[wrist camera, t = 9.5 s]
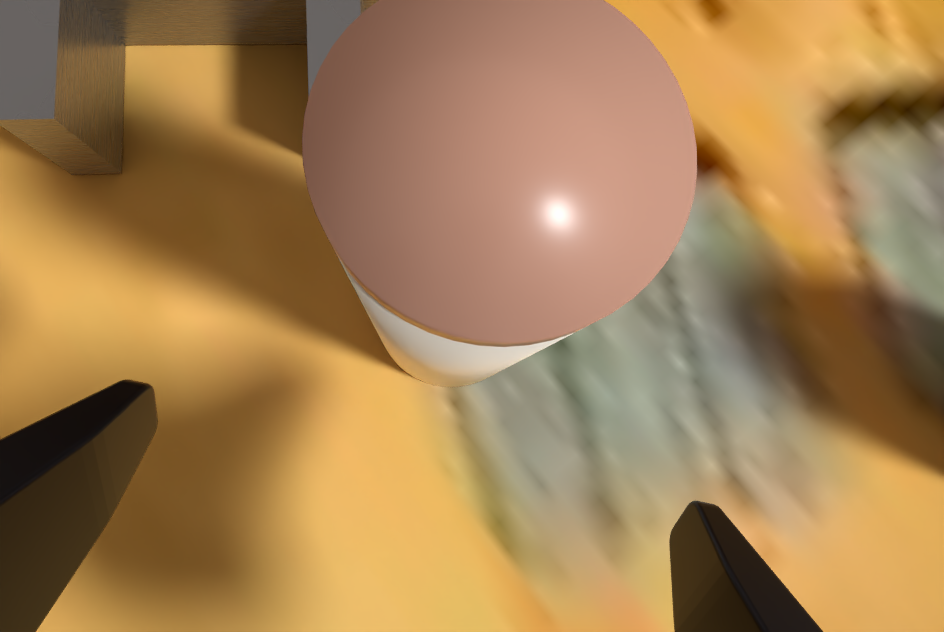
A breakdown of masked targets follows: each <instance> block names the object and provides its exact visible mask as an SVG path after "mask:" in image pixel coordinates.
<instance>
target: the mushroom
mask: <svg viewBox="0 0 944 632" xmlns="http://www.w3.org/2000/svg"><path fill="white" fill-rule="evenodd" d="M302 149H303V166H304V172H305V177H306V183H307V188H308V192H309V195H310V198H311V201H312V204H313V207H314V210H315V213H316V215H317V217H318V219H319V221H320V223H321V225H322V227H323V229H324V231H325V233H326V235H327V237H328V239H329V241H330V243H331V245H332V247H333V249H334V251H335V253H336V255H337V257H338V258H339V260H340V262H341V264H342V266H343V268H344V270H345V272H346V274H347V276H348V278H349V280H350V281H351V283H352V285H353V287H354V289H355V291H356V293H357V295H358V297H359V299H360V301H361V302H362V304H363V306H364V308H365V310H366V312H367V314H368V316H369V318H370V320H371V322H372V323H373V325H374V327H375V329H376V331H377V333H378V335H379V337H380V339H381V341H382V343H383V344H384V346H385V348H386V350H387V352H388V353H389V355H390V356H391V358H392V359H393V360H394V361H395V362H396V363H397V364H398V366H400V367H401V368H402V369H403V370H404V371H405V372H407V373H408V374H410V375H411V376H413V377H414V378H416V379H418V380H421V381H423V382H425V383H428V384H432V385H436V386H441V387H461V386H466V385H471V384H474V383H477V382H480V381H482V380H484V379H486V378H488V377H490V376H492V375H494V374H496V373H498V372H500V371H501V370H503V369H505V368H507V367H509V366H511V365H513V364H515V363H517V362H519V361H521V360H523V359H525V358H527V357H528V356H530V355H532V354H534V353H536V352H538V351H540V350H542V349H544V348H546V347H548V346H550V345H552V344H554V343H555V342H557V341H559V340H561V339H563V338H565V337H567V336H569V335H571V334H573V333H575V332H577V331H579V330H581V329H582V328H584V327H586V326H588V325H590V324H592V323H594V322H596V321H598V320H600V319H602V318H604V317H606V316H608V315H609V314H611V313H613V312H614V311H616V310H617V309H619V308H620V307H621V306H623V305H624V304H626V303H627V302H629V301H630V300H631V299H633V298H634V297H635V296H636V295H637V294H638V293H639V292H640V291H641V290H642V289H643V288H645V287H646V286H647V285H648V284H649V283H650V282H651V281H652V280H653V278H654V277H655V276H656V275H657V273H658V272H659V271H660V270H661V268H662V267H663V266H664V265H665V263H666V262H667V260H668V259H669V257H670V255H671V254H672V252H673V250H674V249H675V247H676V245H677V244H678V242H679V240H680V237H681V235H682V232H683V230H684V228H685V225H686V223H687V221H688V218H689V214H690V210H691V206H692V202H693V198H694V193H695V185H696V176H697V148H696V142H695V135H694V128H693V123H692V120H691V116H690V113H689V109H688V106H687V102H686V100H685V98H684V95H683V93H682V91H681V88H680V86H679V84H678V81H677V79H676V78H675V76H674V74H673V72H672V71H671V69H670V67H669V66H668V64H667V62H666V61H665V59H664V58H663V56H662V55H661V54H660V52H659V51H658V50H657V48H656V47H655V46H654V44H653V43H652V42H651V41H650V39H649V38H648V37H647V36H646V35H645V34H644V33H643V32H642V31H641V30H640V29H639V28H638V27H637V26H636V25H635V24H634V23H633V22H632V21H631V20H629V19H628V18H627V17H626V16H625V15H623V14H622V13H621V12H620V11H618V10H617V9H616V8H615V7H613V6H612V5H610V4H609V3H607V2H605V1H604V0H379V1H377V2H376V3H375V4H373V5H372V6H370V7H369V8H368V9H366V10H365V11H364V12H363V13H362V14H361V15H360V16H359V17H358V18H357V19H355V20H354V21H353V22H352V23H351V24H350V25H349V26H348V27H347V28H346V30H345V31H344V32H343V33H342V35H341V36H340V37H339V38H338V40H337V41H336V42H335V43H334V45H333V46H332V48H331V49H330V51H329V53H328V54H327V56H326V58H325V60H324V61H323V63H322V65H321V66H320V68H319V71H318V73H317V76H316V78H315V81H314V83H313V85H312V88H311V91H310V95H309V99H308V103H307V107H306V110H305V116H304V125H303V135H302Z"/></svg>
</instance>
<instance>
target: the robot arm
mask: <svg viewBox="0 0 944 632" xmlns="http://www.w3.org/2000/svg"><path fill="white" fill-rule="evenodd" d="M157 422H158V419H157V411H156V402H155V394H154V389H153V387H152V386H151V385H149V384H147V383H143V382H138V381H133V380H122V381H119V382H117V383H115V384H113V385H111V386H109V387H107V388H105V389H103V390H101V391H99V392H97V393H95V394H93V395H90V396H88V397H86V398H84V399H82V400H80V401H78V402H76V403H74V404H72V405H70V406H68V407H66V408H64V409H62V410H60V411H58V412H56V413H53V414H51V415H49V416H47V417H45V418H43V419H41V420H39V421H37V422H35V423H33V424H31V425H29V426H27V427H25V428H23V429H21V430H19V431H16V432H14V433H12V434H10V435H8V436H6V437H4V438H2V439H0V632H36V631H37V629H38V628H39V626H40V625H41V623H42V622H43V620H44V619H45V617H46V616H47V614H48V613H49V611H50V610H51V608H52V607H53V605H54V604H55V602H56V601H57V599H58V598H59V596H60V595H61V593H62V592H63V590H64V589H65V587H66V586H67V584H68V583H69V581H70V580H71V578H72V577H73V575H74V574H75V572H76V571H77V569H78V568H79V566H80V565H81V563H82V562H83V560H84V559H85V557H86V555H87V554H88V552H89V551H90V549H91V548H92V546H93V545H94V543H95V542H96V540H97V539H98V537H99V536H100V534H101V533H102V531H103V530H104V528H105V527H106V525H107V523H108V522H109V520H110V518H111V517H112V515H113V513H114V511H115V509H116V508H117V506H118V504H119V502H120V500H121V498H122V496H123V494H124V492H125V490H126V488H127V486H128V485H129V483H130V481H131V479H132V477H133V475H134V473H135V471H136V469H137V467H138V465H139V463H140V461H141V459H142V458H143V456H144V454H145V452H146V450H147V448H148V446H149V444H150V442H151V440H152V438H153V436H154V434H155V431H156V428H157ZM670 561H671V580H672V598H673V617H674V629H675V632H823V631H822V630H821V628H820V627H819V626H818V625H817V624H816V622H815V621H814V620H813V619H812V618H811V616H810V615H809V614H808V613H807V612H806V610H805V609H804V608H803V607H802V606H801V604H800V603H799V602H798V601H797V600H796V598H795V597H794V596H793V595H792V594H791V592H790V591H789V590H788V589H787V588H786V586H785V585H784V584H783V583H782V582H781V580H780V579H779V578H778V577H777V576H776V574H775V573H774V572H773V571H772V570H771V569H770V567H769V566H768V565H767V564H766V563H765V561H764V560H763V559H762V558H761V557H760V555H759V554H758V553H757V552H756V551H755V549H754V548H753V547H752V546H751V545H750V543H749V542H748V541H747V540H746V539H745V537H744V536H743V535H742V534H741V533H740V531H739V530H738V529H737V528H736V527H735V525H734V524H733V523H732V522H731V521H730V519H729V518H728V517H727V516H726V515H725V513H724V512H723V511H722V510H721V509H720V508H719V507H718V506H716V505H714V504H710V503H705V502H700V501H692V502H691V503H689V505H688V506H687V507H686V509H685V510H684V512H683V513H682V515H681V516H680V518H679V519H678V521H677V522H676V524H675V525H674V527H673V529H672V531H671V535H670Z"/></svg>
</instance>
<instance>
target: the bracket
mask: <svg viewBox="0 0 944 632" xmlns="http://www.w3.org/2000/svg"><path fill="white" fill-rule="evenodd" d="M377 1H379V0H0V126H2V127H3V128H5V129H6V130H7V131H9V132H10V133H12V134H13V135H15V136H16V137H18V138H19V139H21V140H22V141H23V142H25V143H26V144H28V145H29V146H31V147H32V148H34V149H35V150H36V151H38V152H39V153H41V154H42V155H44V156H45V157H47V158H48V159H50V160H51V161H52V162H54V163H55V164H57V165H58V166H60V167H61V168H63V169H64V170H66V171H67V172H68V173H70V174H71V175H81V174H118V173H122V143H123V109H124V74H125V45H222V44H307V52H308V91H309V95H310V91H311V88H312V85H313V83H314V81H315V78H316V76H317V73H318V71H319V68H320V66H321V65H322V63H323V61H324V60H325V58H326V56H327V54H328V53H329V51H330V49H331V48H332V46H333V45H334V43H335V42H336V41H337V40H338V38H339V37H340V36H341V35H342V33H343V32H344V31H345V30H346V28H347V27H348V26H349V25H350V24H351V23H352V22H353V21H354V20H355V19H357V18H358V17H359V16H360V15H361V14H362V13H363V12H364V11H365V10H366V9H368V8H369V7H370V6H372V5H373V4H375V3H376V2H377Z"/></svg>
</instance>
